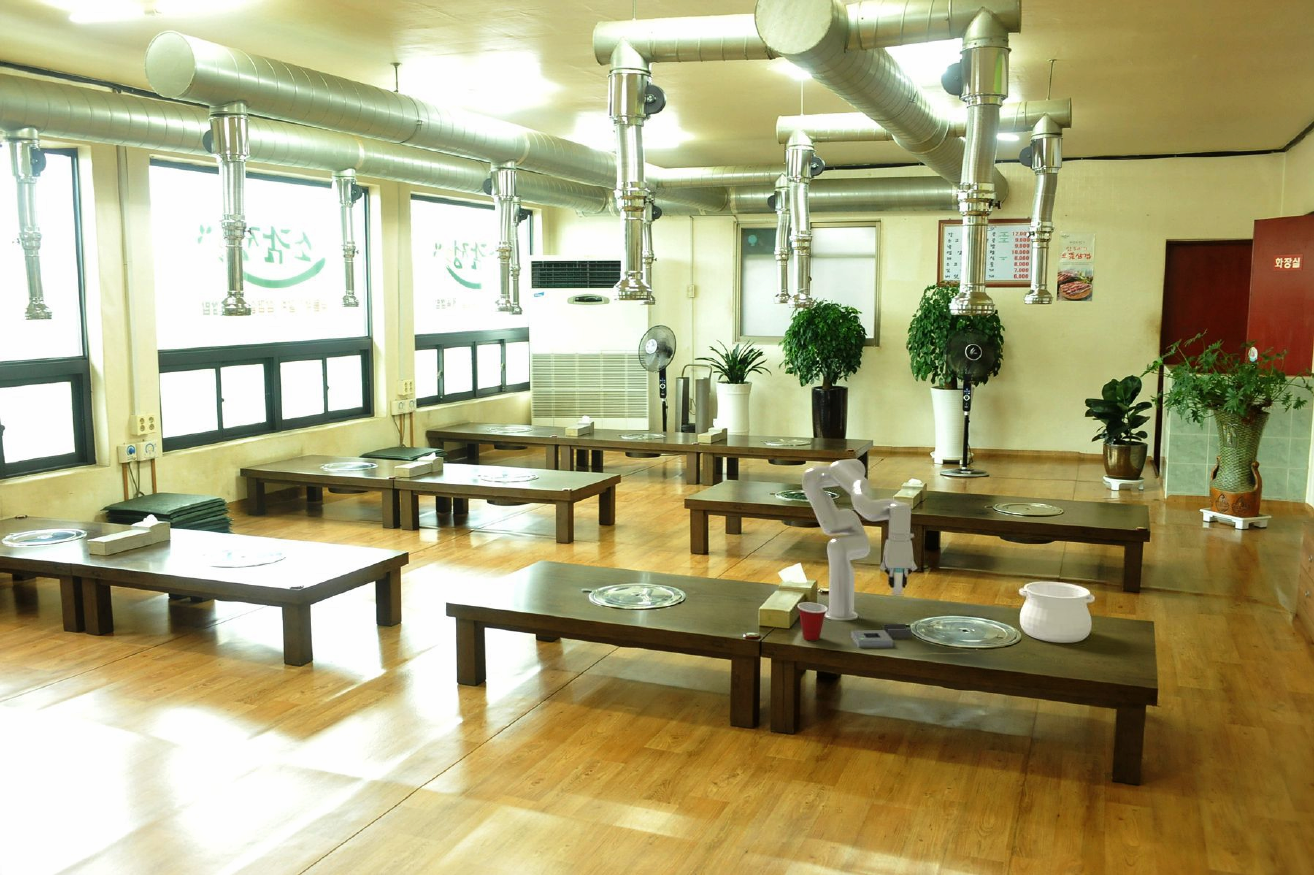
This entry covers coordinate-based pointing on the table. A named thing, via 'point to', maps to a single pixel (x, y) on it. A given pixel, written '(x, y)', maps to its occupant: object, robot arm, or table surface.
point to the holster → (897, 630)
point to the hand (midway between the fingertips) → (897, 586)
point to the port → (871, 638)
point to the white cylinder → (898, 581)
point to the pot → (1056, 612)
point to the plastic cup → (811, 619)
